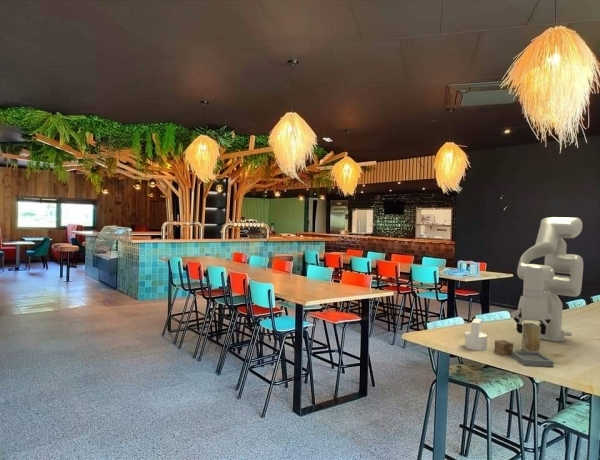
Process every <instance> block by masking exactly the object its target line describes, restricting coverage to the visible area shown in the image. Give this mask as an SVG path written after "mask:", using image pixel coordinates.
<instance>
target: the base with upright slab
mask: <svg viewBox="0 0 600 460" xmlns="http://www.w3.org/2000/svg"><path fill="white" fill-rule="evenodd" d="M482 320H483V319H481V318H473V320H472V321H471V329H470V331H469V330H468V331H465V332H464V333H465V335H464V337H465V338H464V347H465V348H466V347H467V349H469V350H472V349H473V351H478V350H479V351H487V348H488V334H486V333H484V332H482V324H483V321H482Z"/></svg>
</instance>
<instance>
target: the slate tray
mask: <svg viewBox="0 0 600 460" xmlns="http://www.w3.org/2000/svg"><path fill="white" fill-rule="evenodd" d="M510 357H511V358H513V359H514V360H515V361H517V362H519V363H520V364H522V365H523V366H525V365H529V366H528V367H545V368H546V367H547V368H553V367H554V361H553V360H552V359H551V358H549V357H547V356H545V355H543V354H542V353H540V351H539V352H525V351H523V350H521V351H517V350H513V351H511V355H510Z"/></svg>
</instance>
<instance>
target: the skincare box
mask: <svg viewBox="0 0 600 460" xmlns="http://www.w3.org/2000/svg"><path fill="white" fill-rule="evenodd" d="M522 325H523V330H522V334H521V335H522V337H521V338H522V340H521V351H523V352H539V353H540V350H541V349H540V347H541V339H540V336H541V327H540V326H539V324H538V325H537V324H535V323H533V322H522Z"/></svg>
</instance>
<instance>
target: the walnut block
mask: <svg viewBox="0 0 600 460" xmlns="http://www.w3.org/2000/svg"><path fill="white" fill-rule="evenodd" d="M511 351H514V343H513V342H510V341H507V340H506V339H502V340H498V339H497V340H494V351H493V352H494V353H497V354H499V355H501V356H502V357H504V356H511Z"/></svg>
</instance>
